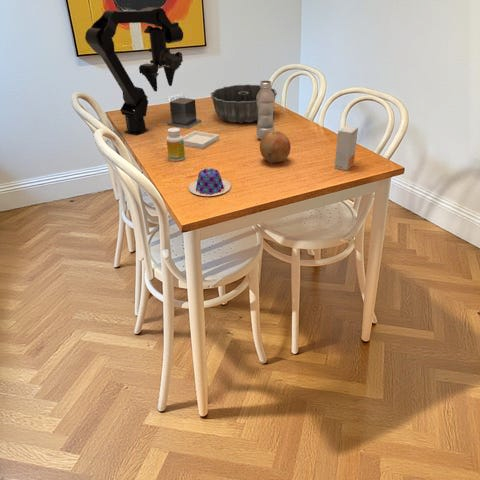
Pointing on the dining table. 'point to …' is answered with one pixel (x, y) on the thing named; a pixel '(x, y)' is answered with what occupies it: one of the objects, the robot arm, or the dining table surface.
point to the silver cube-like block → (183, 113)
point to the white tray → (200, 139)
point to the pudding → (209, 183)
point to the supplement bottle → (175, 145)
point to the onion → (275, 146)
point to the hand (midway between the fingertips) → (163, 88)
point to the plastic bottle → (265, 109)
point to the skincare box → (346, 147)
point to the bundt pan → (237, 102)
